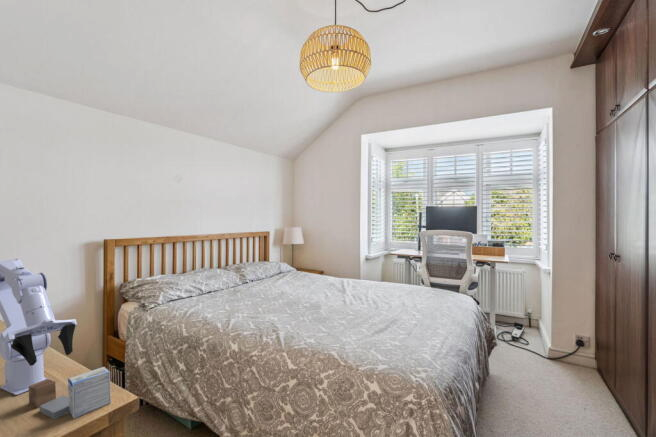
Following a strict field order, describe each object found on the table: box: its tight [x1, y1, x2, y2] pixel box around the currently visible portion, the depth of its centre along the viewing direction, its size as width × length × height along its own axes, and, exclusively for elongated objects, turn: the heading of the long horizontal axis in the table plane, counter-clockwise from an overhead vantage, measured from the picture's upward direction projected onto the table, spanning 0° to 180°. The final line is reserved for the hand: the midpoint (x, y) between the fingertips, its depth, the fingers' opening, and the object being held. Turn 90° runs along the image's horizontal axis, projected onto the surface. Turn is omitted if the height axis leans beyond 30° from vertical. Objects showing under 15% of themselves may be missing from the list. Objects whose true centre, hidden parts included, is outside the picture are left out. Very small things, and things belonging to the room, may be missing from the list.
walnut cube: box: [28, 378, 57, 409], centre depth 83 cm, size 4×4×5 cm
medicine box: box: [67, 366, 112, 419], centre depth 81 cm, size 8×4×9 cm, turn 141°
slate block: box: [39, 395, 70, 420], centre depth 80 cm, size 7×5×2 cm
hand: (52, 358), depth 82 cm, fingers open, 7 cm apart
